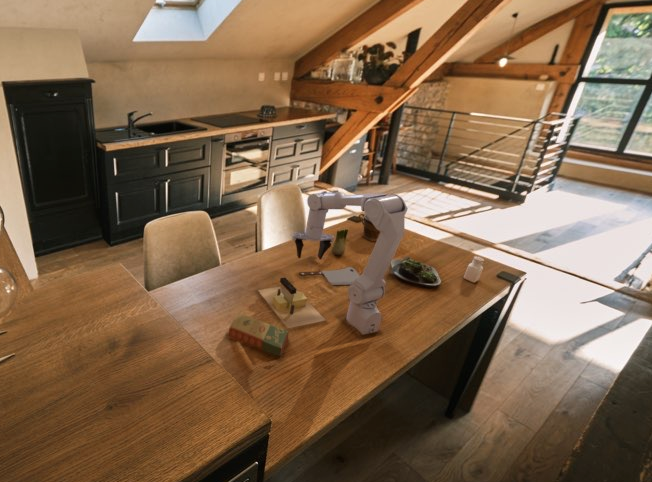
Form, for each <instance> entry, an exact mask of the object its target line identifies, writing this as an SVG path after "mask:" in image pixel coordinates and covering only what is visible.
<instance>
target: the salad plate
mask: <svg viewBox="0 0 652 482" xmlns="http://www.w3.org/2000/svg"><path fill="white" fill-rule="evenodd" d="M390 266H391V268H390V269H389V270H388V271H389V274H392V275H393V276H395V278H396V279H397V280H398V281H400V282H402V283H405V284H406V285H412V286H415V287H419V288H426V289H435V288H437V287H439V286H441V284H442V280H441V277H440V275H439V273H438V271H437V269H435V268H434V267H432V266H431V265H429V264H426V263H421V262H420V261H417V260H414V259H413V258H411V257H410V256H407V255H406V256H405V257H403V258H402V259H401V258H395V259H392V260H391V263H390Z"/></svg>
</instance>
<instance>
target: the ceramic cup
mask: <svg viewBox="0 0 652 482" xmlns="http://www.w3.org/2000/svg"><path fill="white" fill-rule="evenodd" d="M361 216H362V217H363V219H362V218H361ZM358 218H359V220H360V222H361V223H362V225H363V233H362V234H363V238H364V239H366V240H367V241H371V242H377V239H378V237H379V235H380V231H379V230H377V229H376V227H375V226H374V225H373V223H372V222H371V221H370V220H369V218H368V217H367V216H366V214H365V213H360V214H359V215H358Z"/></svg>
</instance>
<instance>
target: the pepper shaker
mask: <svg viewBox="0 0 652 482" xmlns="http://www.w3.org/2000/svg"><path fill="white" fill-rule="evenodd" d="M484 262H485V258H482V257H481V256H476V255H475V256H473V258H472V261H471V262H470V263H469V264H468V265H467V268H466V270H465V273H464V275H463V279H465V280H466V281H469V282H471V283H473V284H474V283H476V282H478V281H479V280H480V277H481V275H482V272H483V270H484V267H483V264H484Z"/></svg>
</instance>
